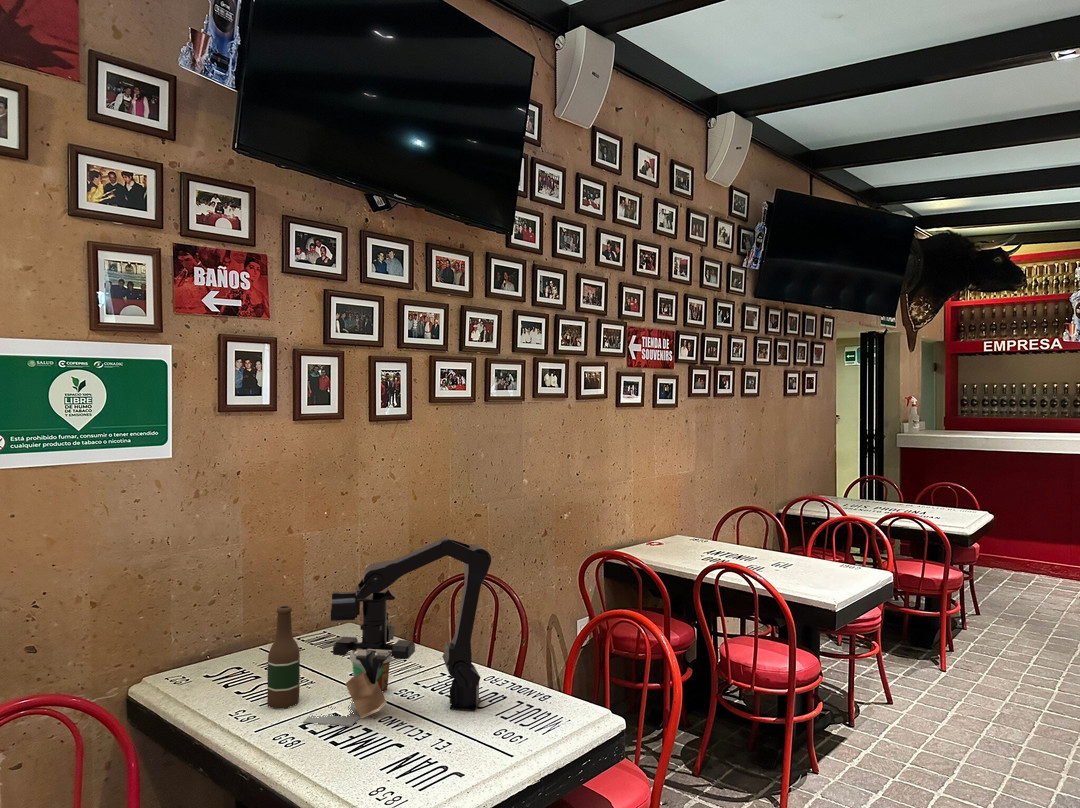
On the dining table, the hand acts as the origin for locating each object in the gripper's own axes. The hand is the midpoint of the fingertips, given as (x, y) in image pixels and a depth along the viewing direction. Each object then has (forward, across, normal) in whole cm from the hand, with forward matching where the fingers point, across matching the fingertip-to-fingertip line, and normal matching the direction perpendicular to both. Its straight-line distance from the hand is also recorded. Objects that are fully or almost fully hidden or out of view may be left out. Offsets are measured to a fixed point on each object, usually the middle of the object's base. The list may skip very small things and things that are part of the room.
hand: (373, 683), depth 176 cm
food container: (+8, +8, -14) cm, 18 cm away
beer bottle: (+8, +25, -3) cm, 26 cm away
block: (+6, 0, 0) cm, 7 cm away
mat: (+8, +9, 0) cm, 11 cm away
